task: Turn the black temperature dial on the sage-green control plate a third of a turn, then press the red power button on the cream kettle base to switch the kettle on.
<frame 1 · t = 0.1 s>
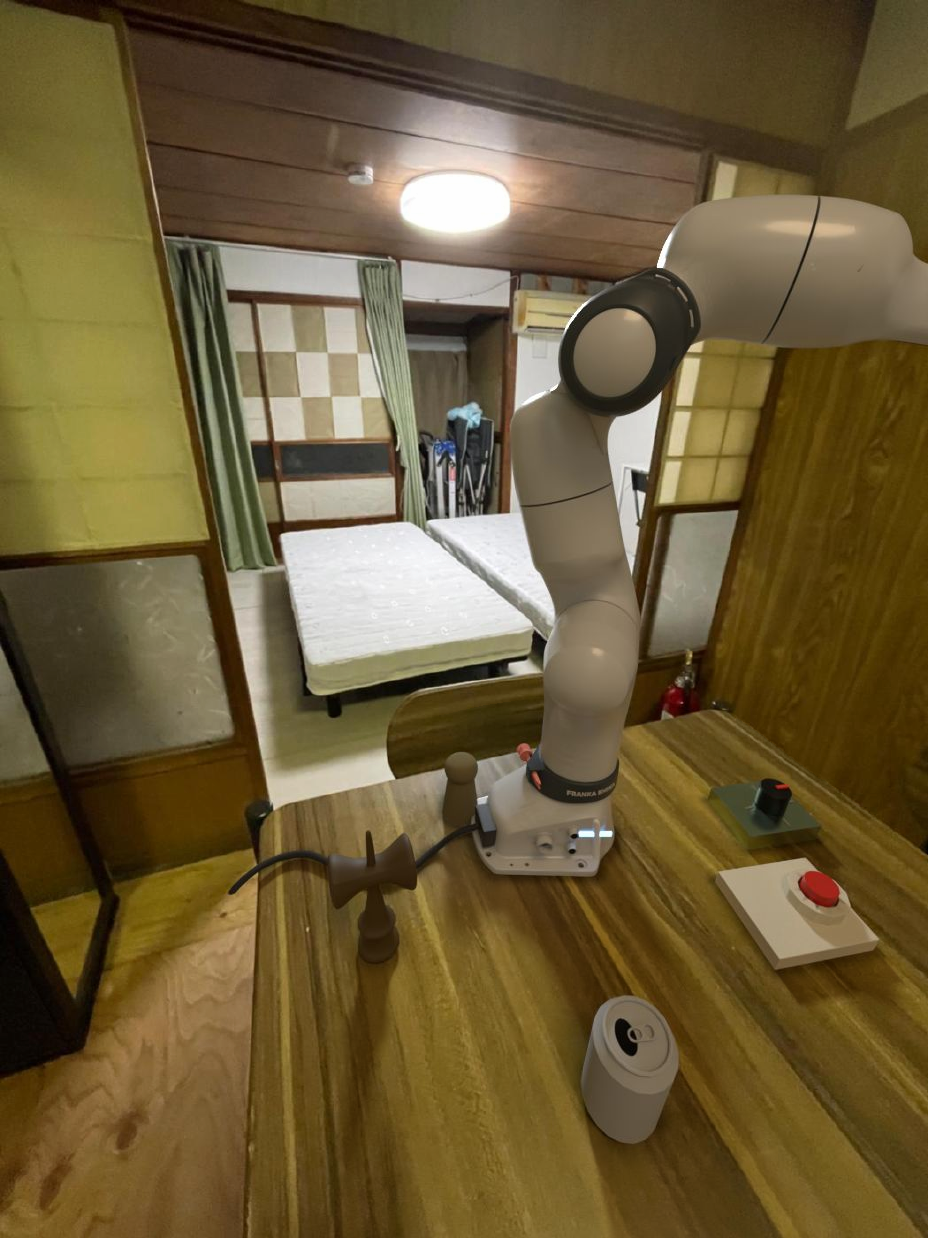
kettle base: (789, 914, 68), on the table
can: (617, 1097, 51), on the table
dial plate: (759, 819, 83), on the table
kendama: (379, 946, 64), on the table
power button: (819, 888, 67), point 4 cm above the table, slide at 0.1 cm
brown wooden peg doll: (460, 812, 84), on the table, touching arm
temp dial: (773, 796, 81), point 5 cm above the table, hinge at 0.0°
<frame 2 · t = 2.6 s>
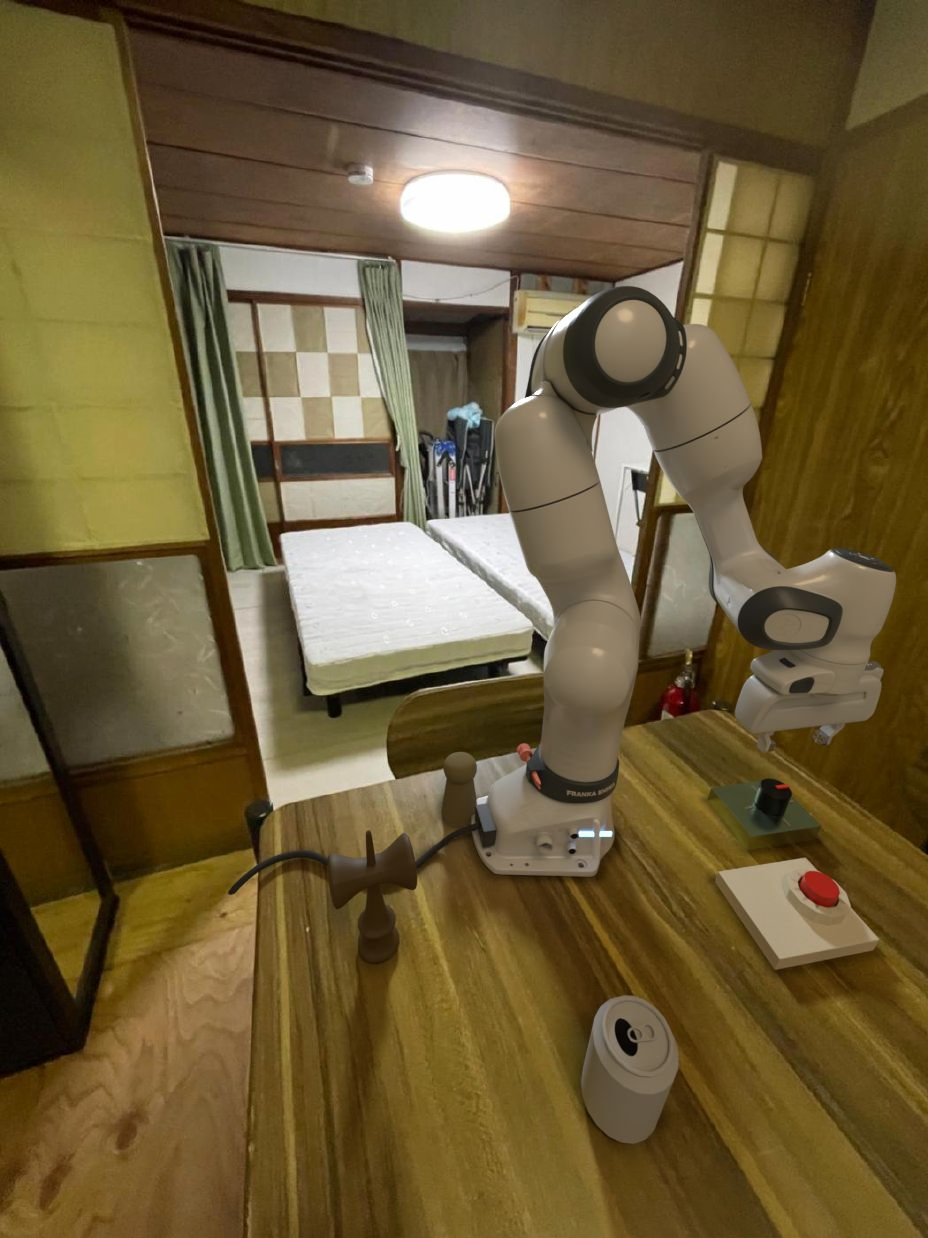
hand: (792, 746, 76), 15 cm above the table, tool pointing down, fingers open, 8 cm apart
nothing on the table moved.
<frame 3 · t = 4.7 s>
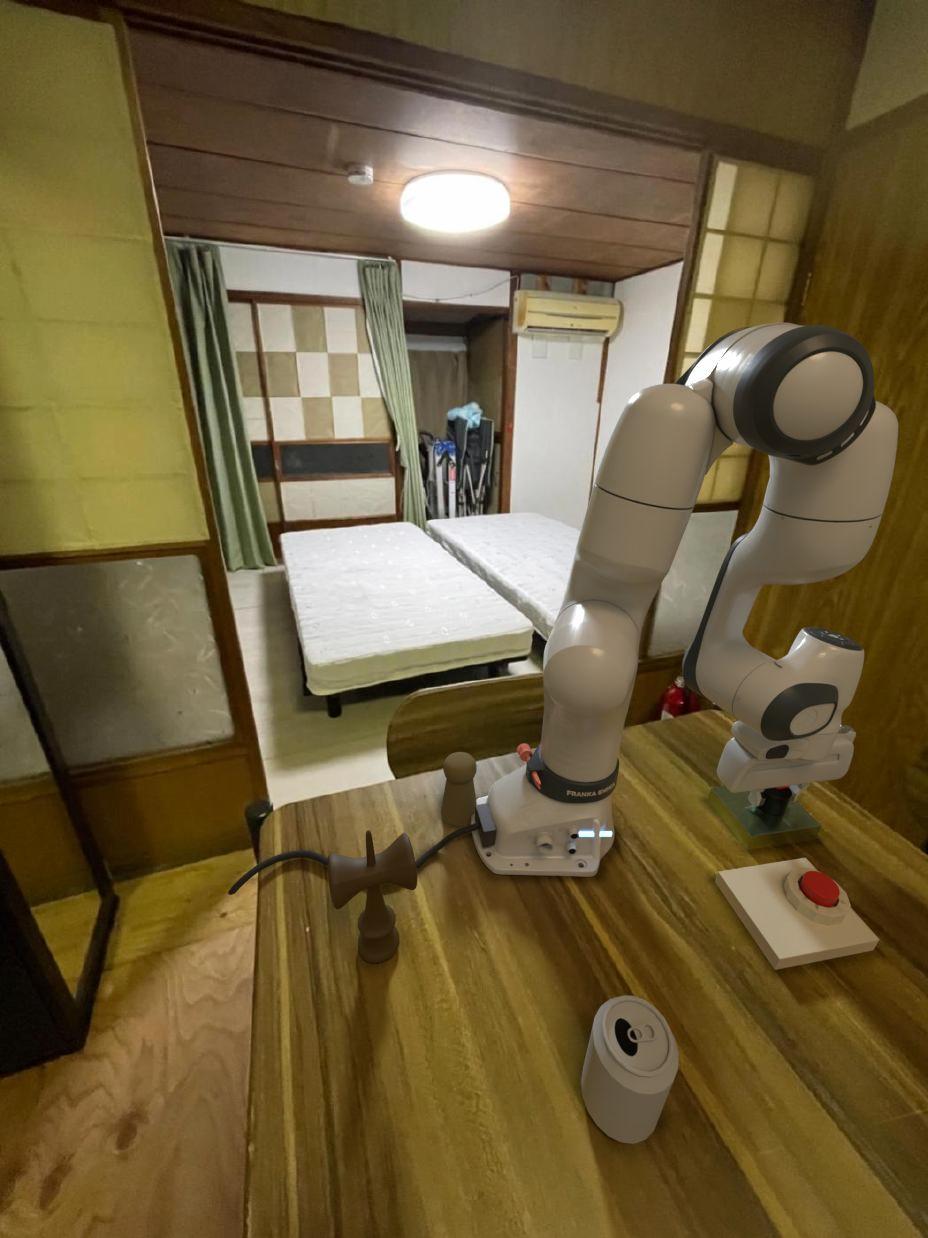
hand: (771, 801, 81), 4 cm above the table, tool pointing down, fingers closed on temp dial, 4 cm apart
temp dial: (773, 796, 81), point 5 cm above the table, hinge at 0.1°, touching gripper
everything else where it was.
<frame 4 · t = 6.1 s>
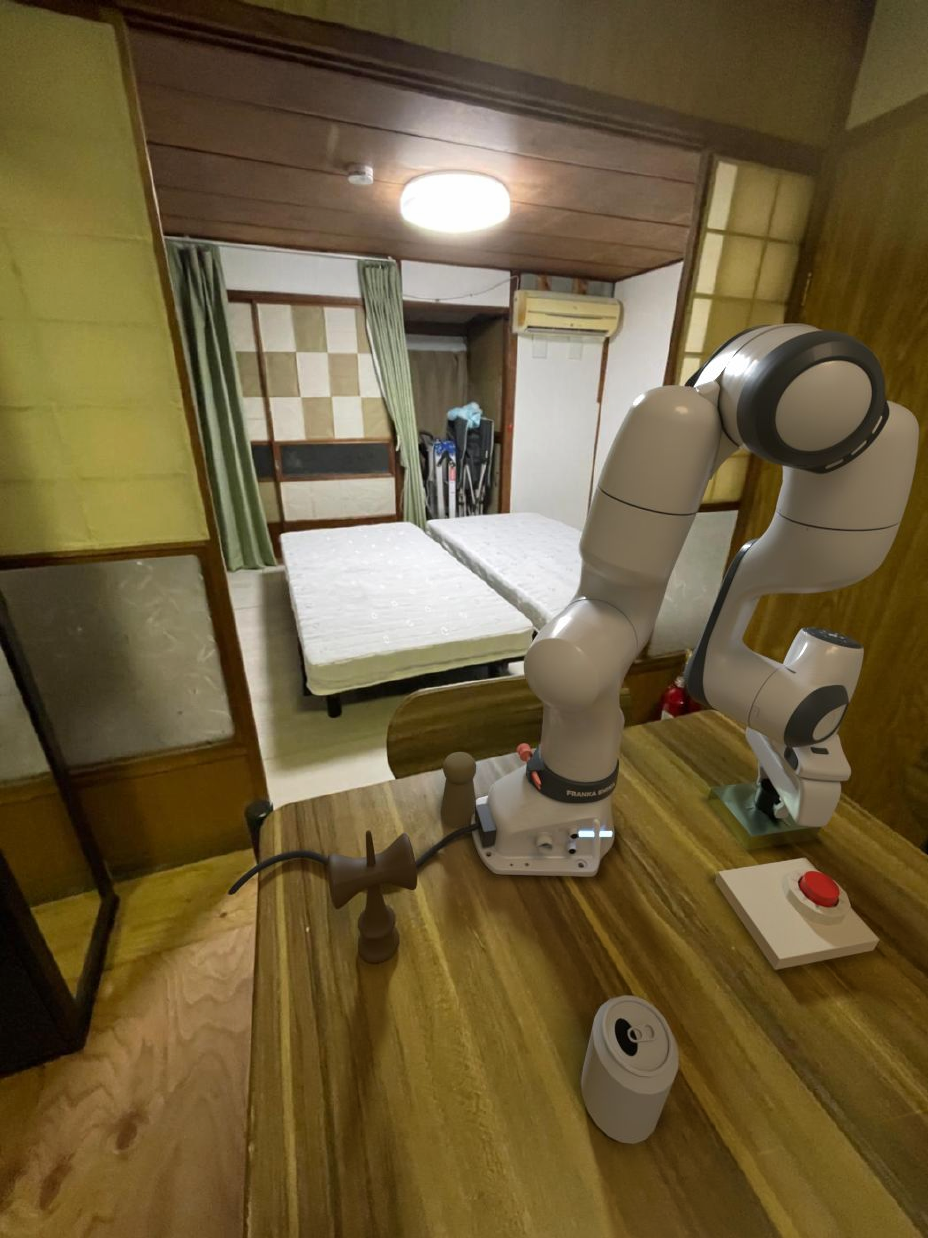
hand: (770, 801, 81), 4 cm above the table, tool pointing down, fingers closed on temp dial, 4 cm apart
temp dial: (773, 796, 81), point 5 cm above the table, hinge at 70.5°, touching gripper
everything else where it was.
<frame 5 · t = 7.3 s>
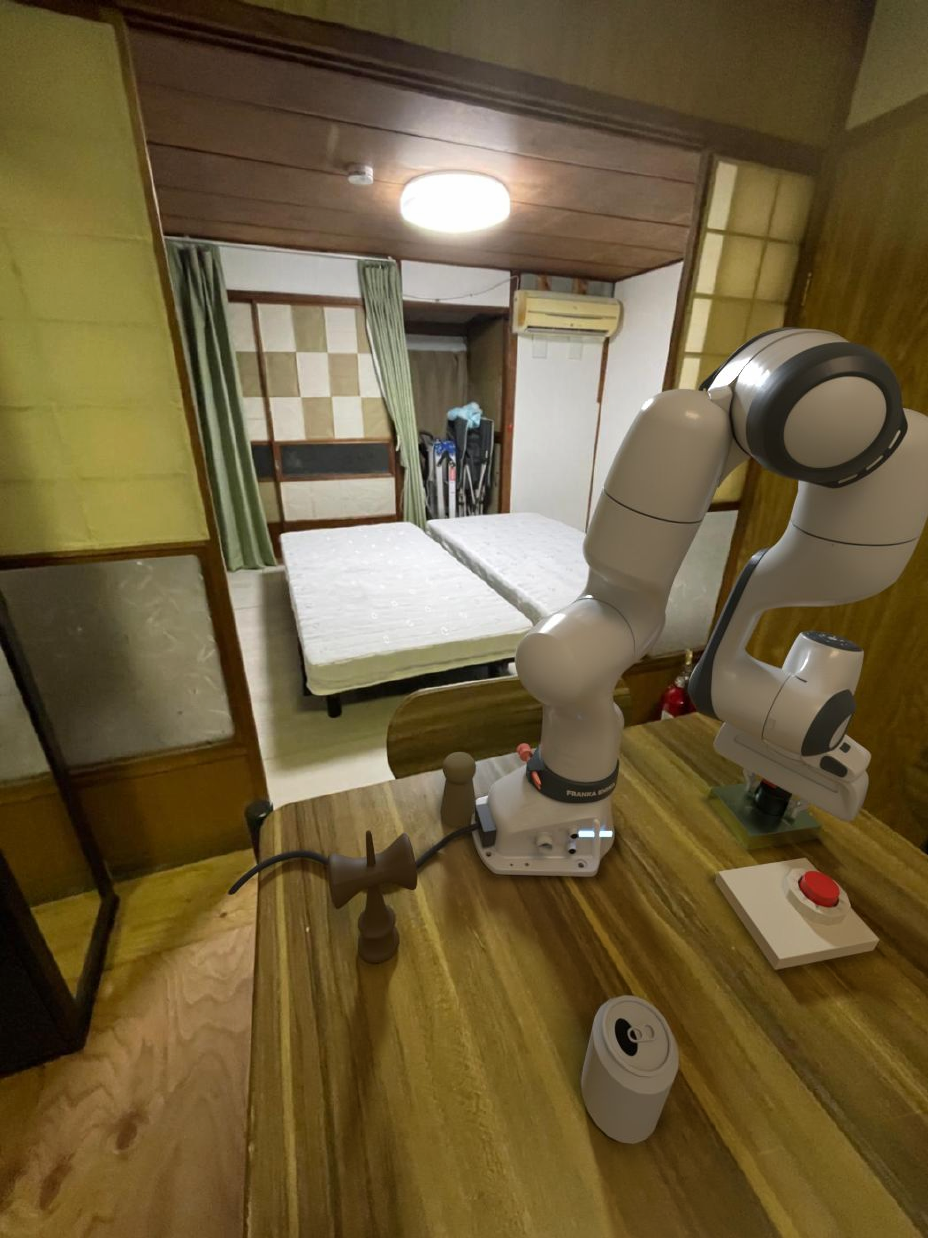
hand: (770, 802, 81), 4 cm above the table, tool pointing down, fingers open, 5 cm apart
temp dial: (773, 796, 81), point 5 cm above the table, hinge at 116.6°
everything else where it was.
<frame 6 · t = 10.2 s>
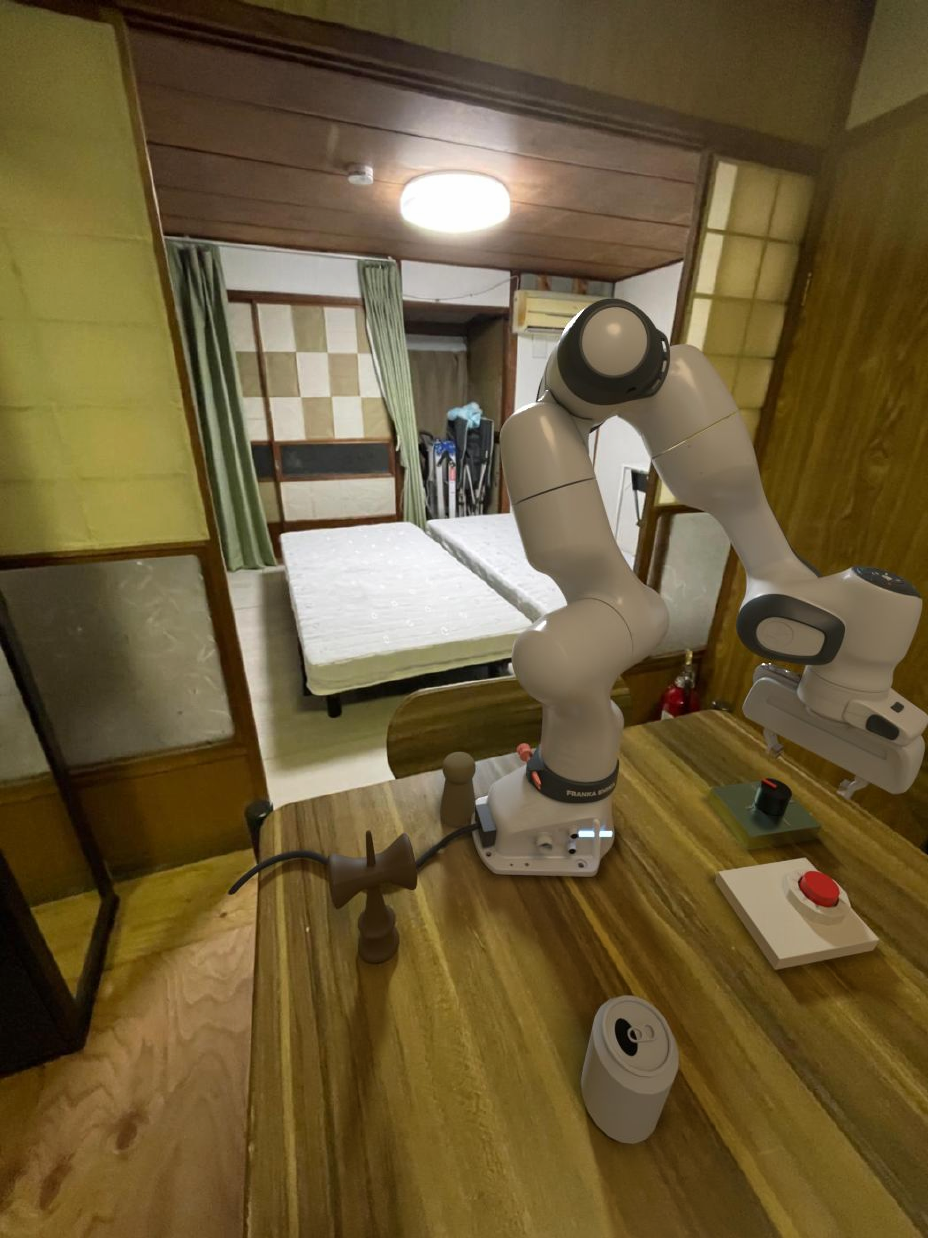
hand: (806, 774, 72), 14 cm above the table, tool pointing down, fingers open, 8 cm apart
nothing on the table moved.
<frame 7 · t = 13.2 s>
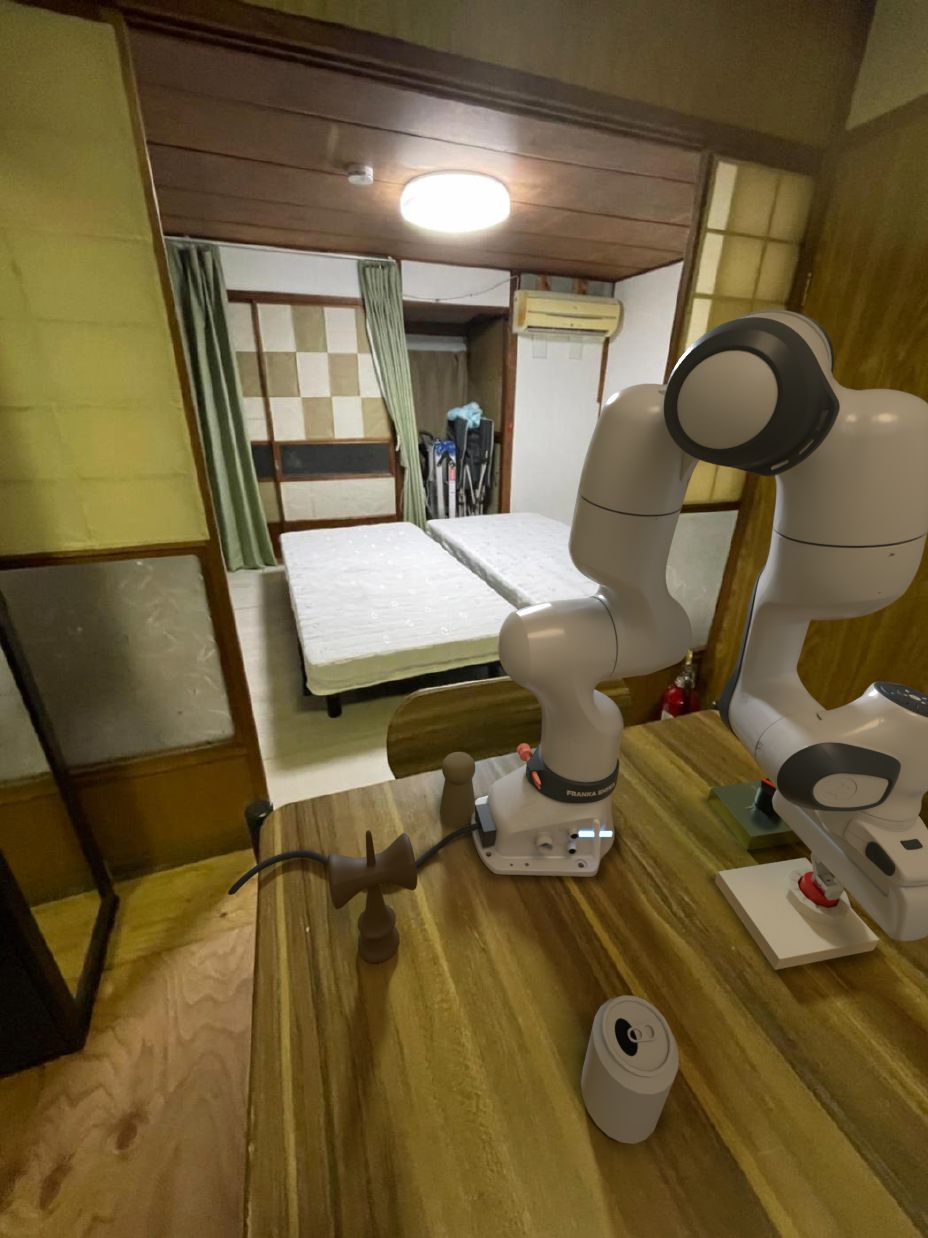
hand: (824, 889, 66), 5 cm above the table, tool pointing down, fingers closed, pressing on power button
power button: (819, 889, 67), point 4 cm above the table, slide at 0.0 cm, touching gripper
everything else where it was.
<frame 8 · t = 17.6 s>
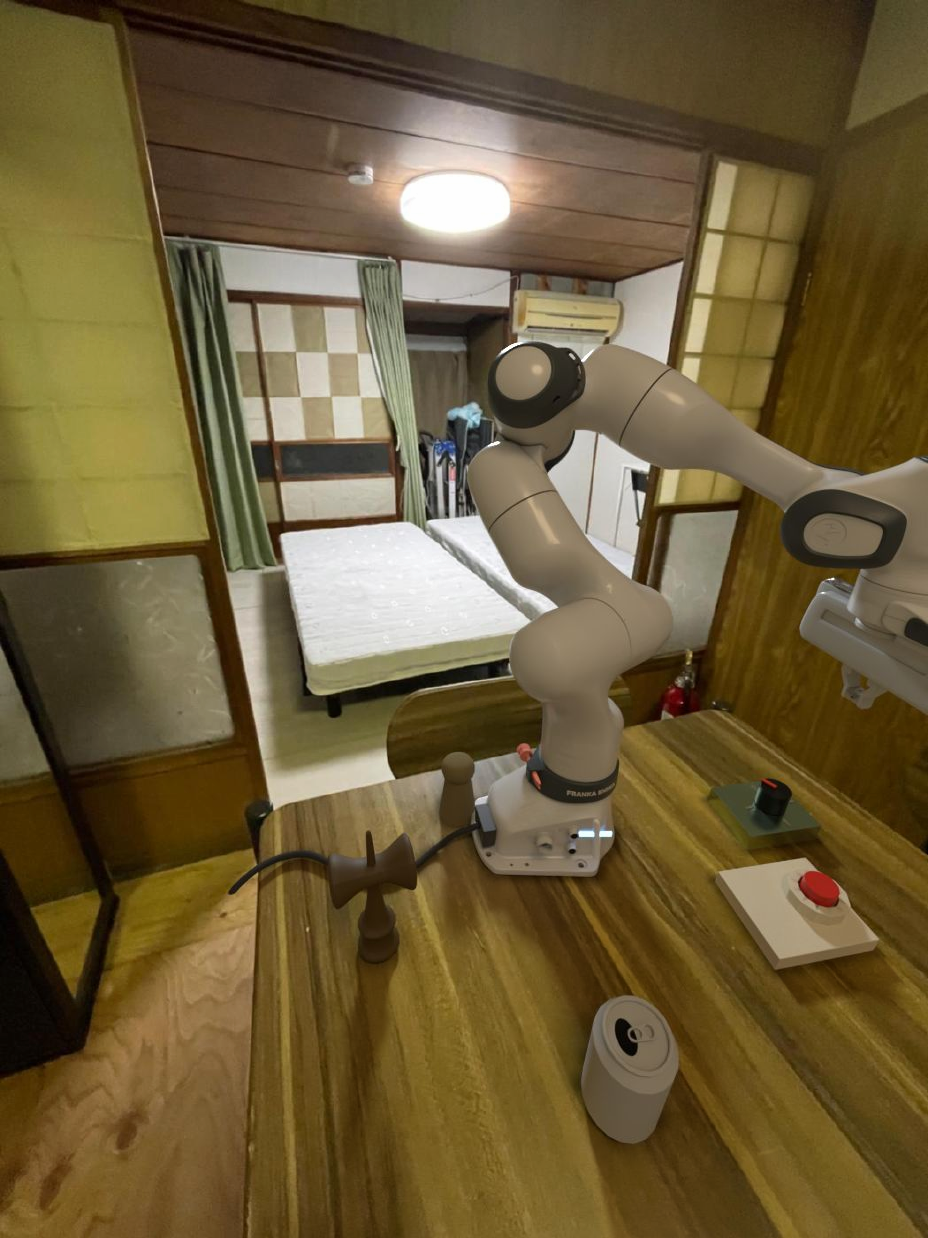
hand: (855, 702, 66), 27 cm above the table, tool pointing down, fingers closed
power button: (819, 888, 67), point 4 cm above the table, slide at 0.1 cm
everything else where it was.
at the end: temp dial at +117° (first picture: +0°); power button pushed in 1.1 cm at the most during the clip, back to where it started at the end; power button slide at 0.1 cm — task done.
